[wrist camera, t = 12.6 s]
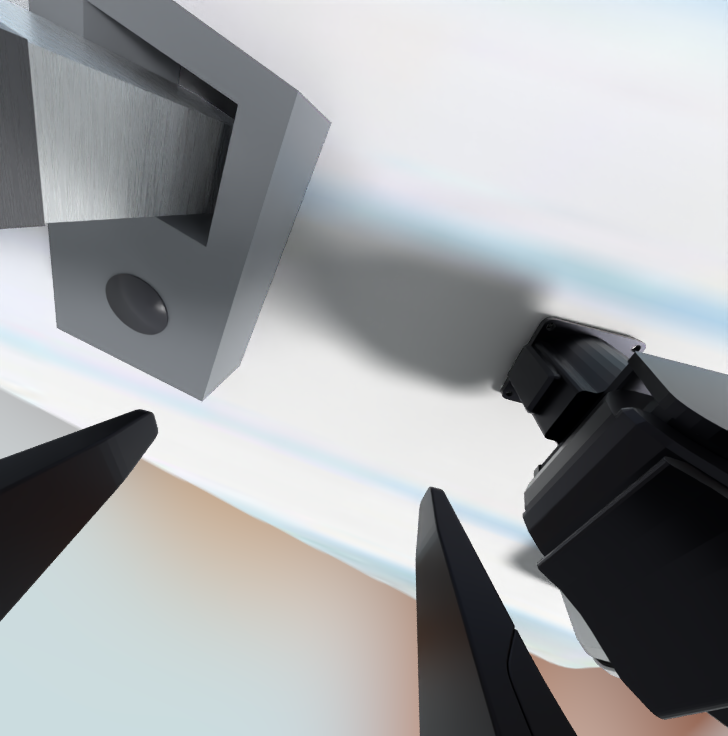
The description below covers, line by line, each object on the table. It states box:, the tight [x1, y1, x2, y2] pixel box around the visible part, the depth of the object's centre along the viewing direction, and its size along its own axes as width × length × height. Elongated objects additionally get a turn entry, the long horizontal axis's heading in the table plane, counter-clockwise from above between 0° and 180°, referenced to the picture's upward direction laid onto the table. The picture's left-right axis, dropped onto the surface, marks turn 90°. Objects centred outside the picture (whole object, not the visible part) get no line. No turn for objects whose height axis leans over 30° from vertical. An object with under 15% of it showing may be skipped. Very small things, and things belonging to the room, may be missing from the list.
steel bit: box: [0, 0, 235, 229], centre depth 11 cm, size 4×4×13 cm
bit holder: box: [29, 0, 331, 401], centre depth 16 cm, size 10×18×5 cm, turn 150°
